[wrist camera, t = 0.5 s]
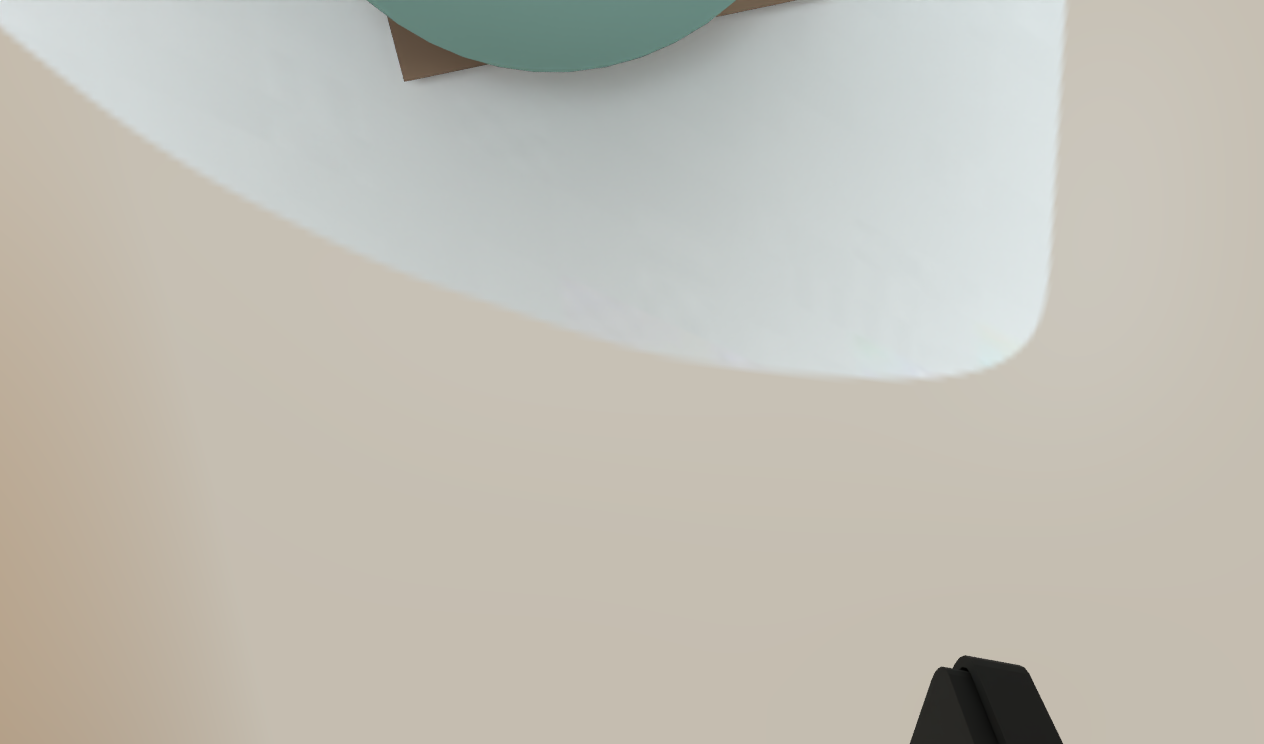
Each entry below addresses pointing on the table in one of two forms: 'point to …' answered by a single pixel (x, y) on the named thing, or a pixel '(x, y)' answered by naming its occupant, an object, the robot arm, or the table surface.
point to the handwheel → (552, 29)
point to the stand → (434, 60)
